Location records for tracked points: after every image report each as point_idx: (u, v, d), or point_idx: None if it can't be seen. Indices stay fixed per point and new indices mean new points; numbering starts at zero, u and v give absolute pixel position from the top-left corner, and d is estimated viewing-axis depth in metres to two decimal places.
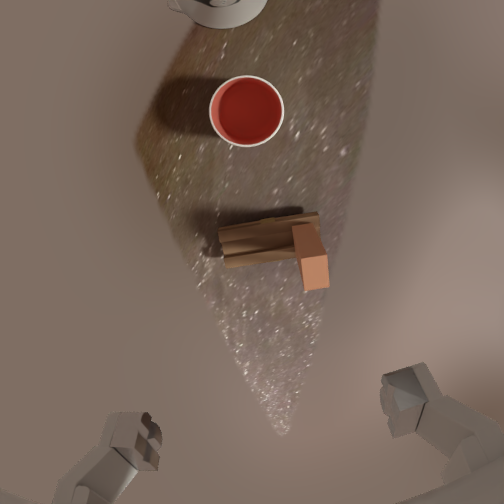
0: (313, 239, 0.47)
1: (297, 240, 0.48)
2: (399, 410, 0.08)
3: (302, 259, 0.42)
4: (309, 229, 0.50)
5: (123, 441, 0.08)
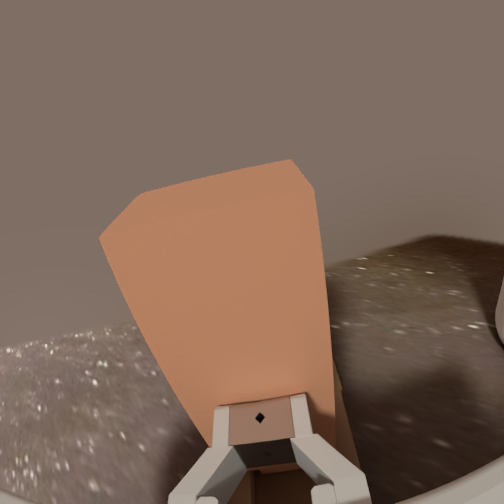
0: None
1: None
2: (262, 441, 0.08)
3: (287, 161, 0.10)
4: None
5: (245, 436, 0.08)
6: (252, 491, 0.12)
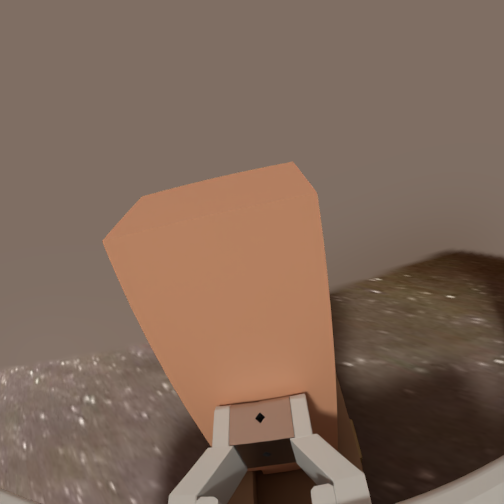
0: None
1: None
2: (262, 441, 0.08)
3: (289, 164, 0.10)
4: None
5: (245, 436, 0.08)
6: None
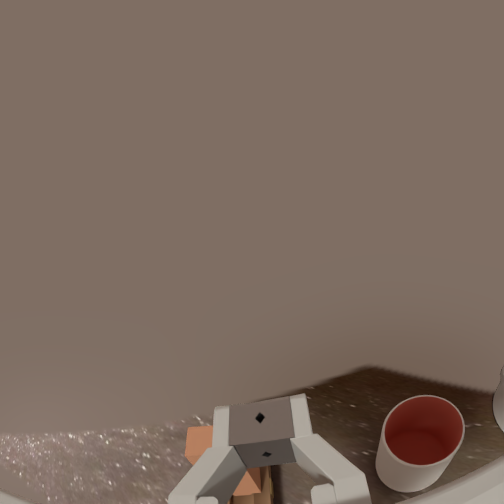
0: None
1: None
2: (262, 441, 0.08)
3: None
4: (256, 479, 0.30)
5: (245, 436, 0.08)
6: None
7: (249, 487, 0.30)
